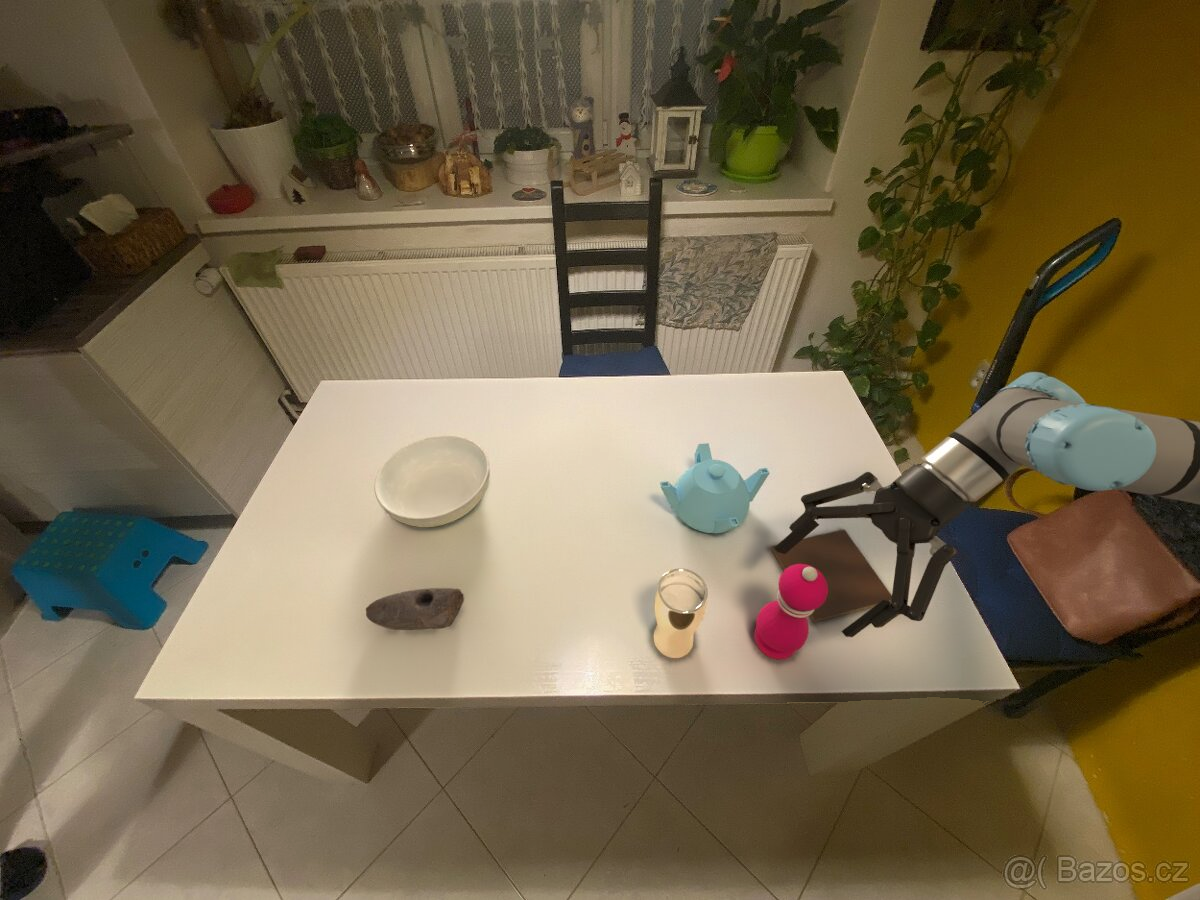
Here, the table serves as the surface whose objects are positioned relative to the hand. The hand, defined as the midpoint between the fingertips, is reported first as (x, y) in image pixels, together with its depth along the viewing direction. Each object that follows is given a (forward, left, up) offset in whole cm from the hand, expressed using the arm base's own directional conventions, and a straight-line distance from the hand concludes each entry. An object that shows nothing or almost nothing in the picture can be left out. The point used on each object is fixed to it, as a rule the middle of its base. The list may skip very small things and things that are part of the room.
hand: (810, 590), depth 69 cm
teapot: (+25, +2, -13) cm, 29 cm away
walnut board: (+7, -12, -13) cm, 19 cm away
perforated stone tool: (+16, +55, -13) cm, 59 cm away
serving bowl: (+41, +51, -13) cm, 67 cm away
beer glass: (+3, +17, -13) cm, 22 cm away
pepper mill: (-1, +2, -13) cm, 14 cm away
